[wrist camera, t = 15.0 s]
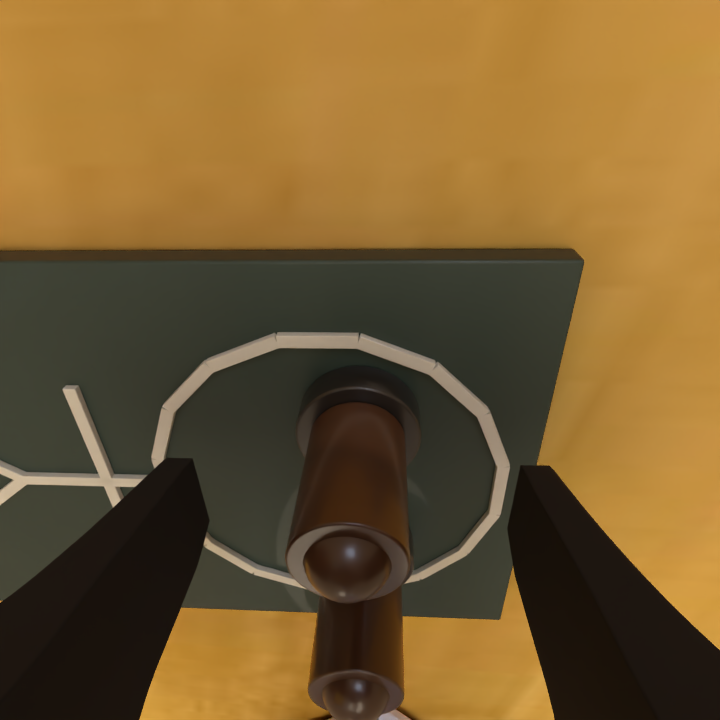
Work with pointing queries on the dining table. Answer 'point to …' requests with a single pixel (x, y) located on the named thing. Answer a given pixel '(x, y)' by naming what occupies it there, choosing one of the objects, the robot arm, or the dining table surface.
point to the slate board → (274, 399)
